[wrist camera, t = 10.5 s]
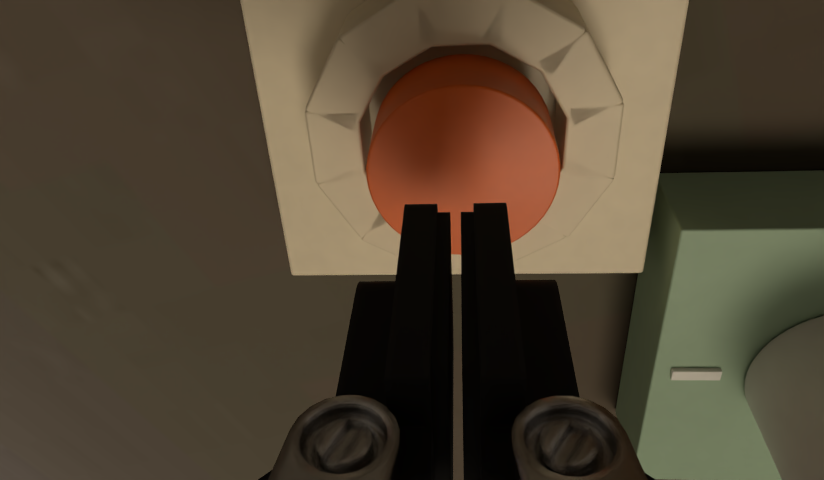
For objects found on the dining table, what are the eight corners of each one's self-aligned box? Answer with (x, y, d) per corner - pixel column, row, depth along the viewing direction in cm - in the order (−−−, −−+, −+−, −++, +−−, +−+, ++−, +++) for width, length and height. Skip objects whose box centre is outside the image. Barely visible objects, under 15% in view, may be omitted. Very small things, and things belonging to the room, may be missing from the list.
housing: (682, -141, 16) (742, -115, 12) (627, 230, 21) (659, 316, 18) (246, -119, 16) (192, -88, 13) (304, 233, 22) (277, 317, 19)
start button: (557, 50, 15) (568, 81, 13) (546, 212, 17) (554, 254, 15) (366, 55, 15) (357, 87, 13) (381, 214, 17) (374, 256, 16)
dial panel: (1022, 166, 19) (1110, 229, 17) (899, 412, 25) (950, 488, 22) (654, 172, 20) (683, 233, 18) (614, 410, 26) (632, 483, 23)
